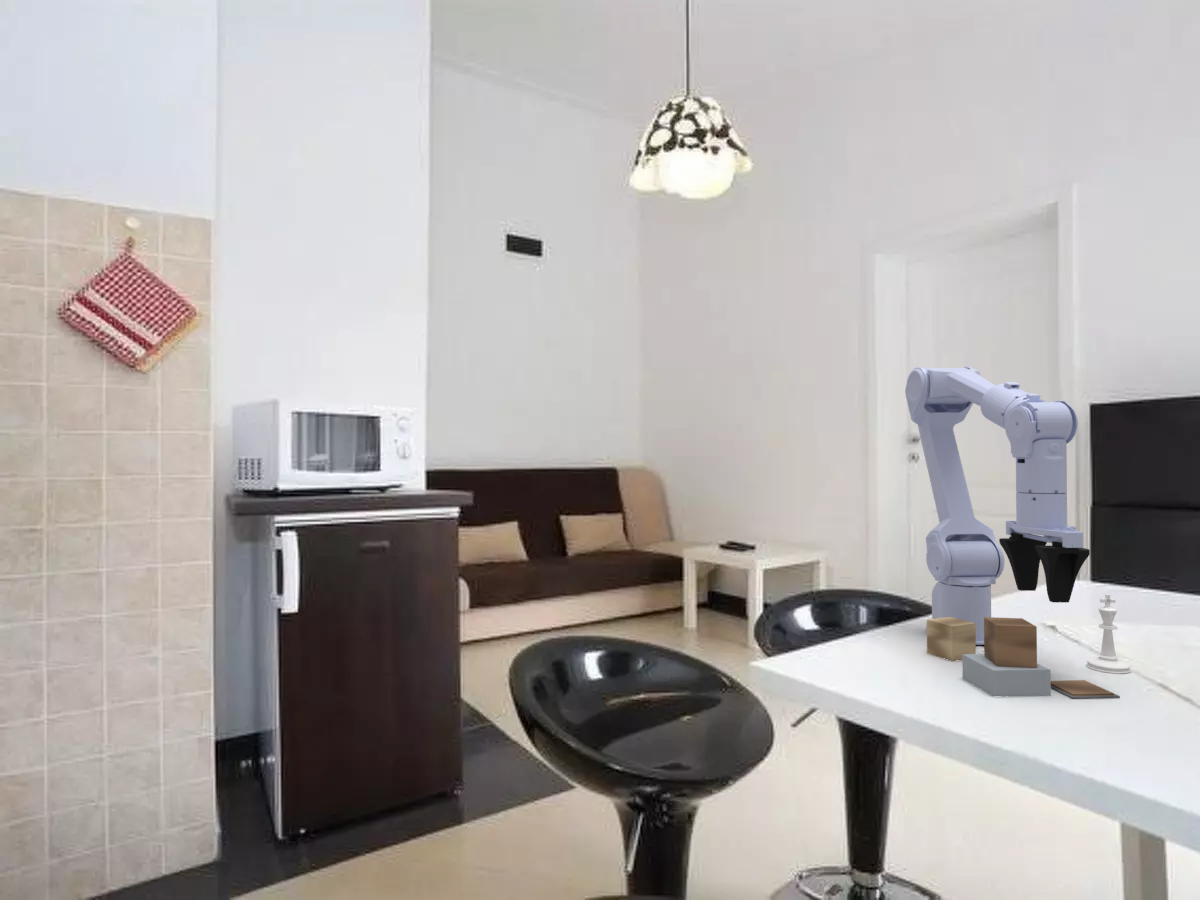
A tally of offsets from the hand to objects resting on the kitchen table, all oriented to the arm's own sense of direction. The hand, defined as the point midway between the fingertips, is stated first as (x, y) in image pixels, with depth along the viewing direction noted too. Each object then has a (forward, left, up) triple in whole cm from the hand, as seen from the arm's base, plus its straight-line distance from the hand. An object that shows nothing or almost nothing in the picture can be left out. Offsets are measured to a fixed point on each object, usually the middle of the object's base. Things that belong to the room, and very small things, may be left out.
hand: (1042, 595), depth 94 cm
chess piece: (-3, +10, -11) cm, 15 cm away
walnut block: (+5, -7, -7) cm, 11 cm away
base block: (+5, -7, -11) cm, 14 cm away
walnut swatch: (+6, +1, -10) cm, 12 cm away
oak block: (-9, -8, -10) cm, 16 cm away
